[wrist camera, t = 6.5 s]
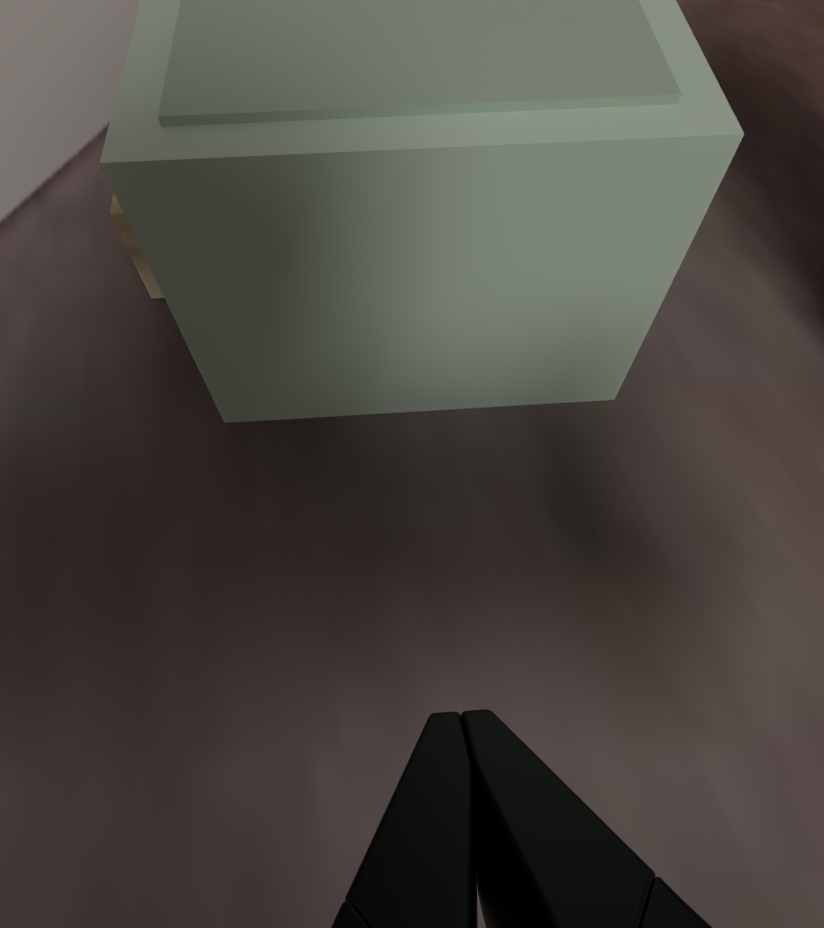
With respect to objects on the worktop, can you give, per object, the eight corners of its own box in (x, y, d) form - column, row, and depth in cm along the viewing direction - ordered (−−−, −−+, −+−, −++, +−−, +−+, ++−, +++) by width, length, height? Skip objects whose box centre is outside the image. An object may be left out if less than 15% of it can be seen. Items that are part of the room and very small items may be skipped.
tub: (612, 403, 20) (749, 124, 12) (225, 426, 20) (94, 153, 11) (530, 97, 28) (579, -199, 20) (251, 109, 27) (184, -189, 19)
